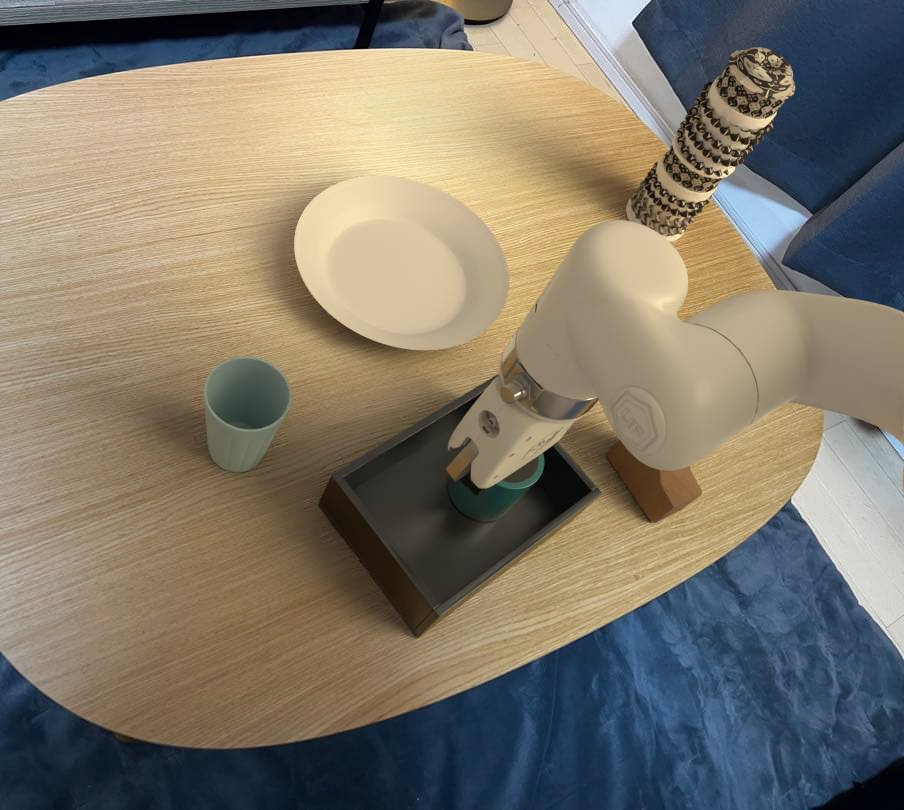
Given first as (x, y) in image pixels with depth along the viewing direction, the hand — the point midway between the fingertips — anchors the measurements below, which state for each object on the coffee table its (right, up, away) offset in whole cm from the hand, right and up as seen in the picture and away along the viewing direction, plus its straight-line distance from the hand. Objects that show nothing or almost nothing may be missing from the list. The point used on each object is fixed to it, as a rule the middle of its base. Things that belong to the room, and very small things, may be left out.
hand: (471, 478), depth 76 cm
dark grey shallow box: (-1, -4, +9) cm, 10 cm away
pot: (+2, -2, +10) cm, 10 cm away
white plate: (-6, +21, +23) cm, 32 cm away
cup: (-22, +2, +7) cm, 23 cm away
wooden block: (+20, -2, +16) cm, 26 cm away
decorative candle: (+30, +32, +38) cm, 58 cm away
